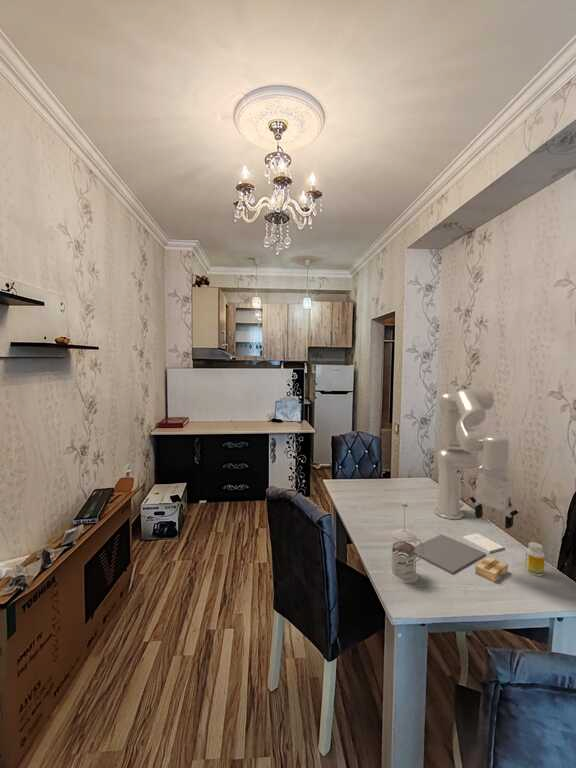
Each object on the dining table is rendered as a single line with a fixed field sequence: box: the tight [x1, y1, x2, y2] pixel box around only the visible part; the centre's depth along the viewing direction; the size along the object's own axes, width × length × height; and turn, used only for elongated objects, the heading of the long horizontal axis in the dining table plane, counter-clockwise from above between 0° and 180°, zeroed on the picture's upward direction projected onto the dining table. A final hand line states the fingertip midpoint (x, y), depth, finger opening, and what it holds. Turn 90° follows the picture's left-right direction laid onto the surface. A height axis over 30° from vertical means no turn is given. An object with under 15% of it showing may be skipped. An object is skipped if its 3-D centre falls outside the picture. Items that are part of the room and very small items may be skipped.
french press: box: [388, 501, 424, 584], centre depth 121 cm, size 10×12×25 cm
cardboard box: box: [475, 556, 509, 583], centre depth 122 cm, size 10×6×3 cm, turn 126°
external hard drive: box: [462, 532, 506, 554], centre depth 142 cm, size 2×8×12 cm
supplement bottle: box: [524, 541, 546, 577], centre depth 123 cm, size 5×5×10 cm
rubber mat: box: [414, 533, 487, 575], centre depth 135 cm, size 22×18×1 cm
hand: (493, 522), depth 121 cm, fingers open, 9 cm apart
